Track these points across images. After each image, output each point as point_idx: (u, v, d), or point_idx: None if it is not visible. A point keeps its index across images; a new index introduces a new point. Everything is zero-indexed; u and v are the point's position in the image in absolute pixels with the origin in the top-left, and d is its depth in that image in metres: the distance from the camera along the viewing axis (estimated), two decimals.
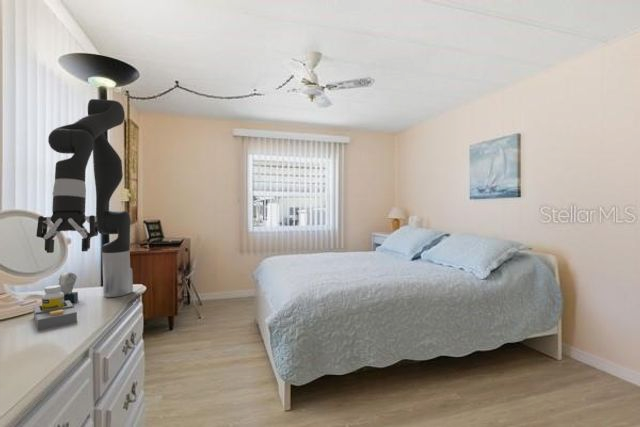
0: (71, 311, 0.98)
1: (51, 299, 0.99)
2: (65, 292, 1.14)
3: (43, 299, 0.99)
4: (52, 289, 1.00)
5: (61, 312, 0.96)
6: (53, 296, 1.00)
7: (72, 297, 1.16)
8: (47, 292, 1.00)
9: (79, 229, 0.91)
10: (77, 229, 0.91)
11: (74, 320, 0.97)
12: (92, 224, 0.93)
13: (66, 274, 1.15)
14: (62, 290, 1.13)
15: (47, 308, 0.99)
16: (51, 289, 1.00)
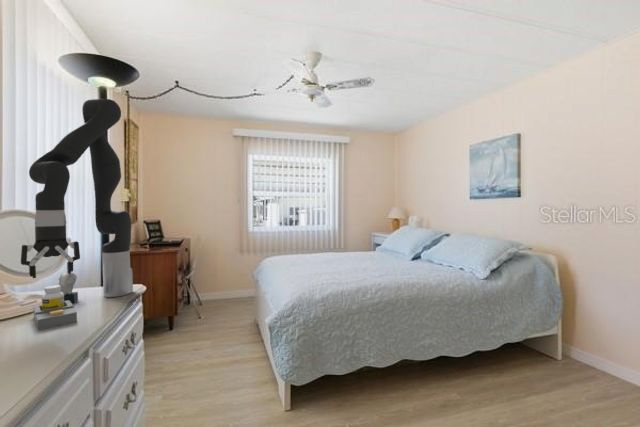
0: (71, 311, 0.98)
1: (51, 299, 0.99)
2: (65, 292, 1.14)
3: (43, 299, 0.99)
4: (52, 289, 1.00)
5: (61, 312, 0.96)
6: (53, 296, 1.00)
7: (72, 297, 1.16)
8: (47, 292, 1.00)
9: (66, 255, 1.02)
10: (64, 255, 1.02)
11: (74, 320, 0.97)
12: (77, 249, 1.05)
13: (66, 274, 1.15)
14: (62, 290, 1.13)
15: (47, 308, 0.99)
16: (51, 289, 1.00)
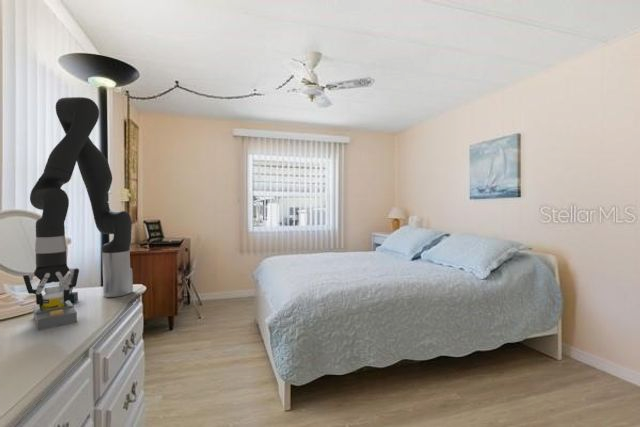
0: (71, 311, 0.98)
1: (51, 299, 0.99)
2: None
3: (43, 298, 0.99)
4: (52, 289, 1.00)
5: (61, 312, 0.96)
6: (53, 296, 1.00)
7: (72, 297, 1.16)
8: (47, 292, 1.00)
9: (64, 282, 1.02)
10: (62, 282, 1.02)
11: (74, 320, 0.97)
12: (76, 277, 1.05)
13: (66, 274, 1.15)
14: (62, 290, 1.13)
15: (47, 308, 0.99)
16: (51, 289, 1.00)
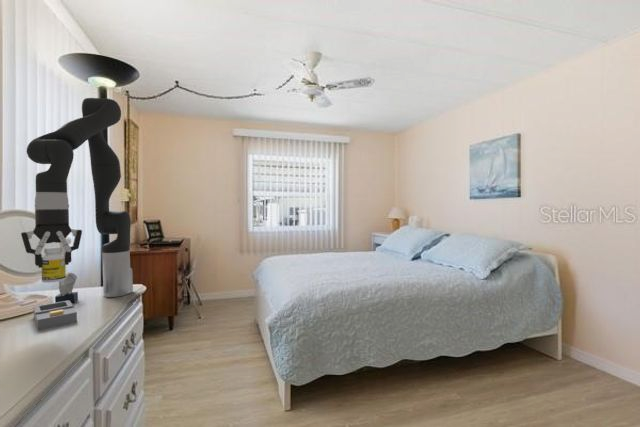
0: (71, 311, 0.98)
1: (52, 260, 0.91)
2: (65, 292, 1.14)
3: (43, 259, 0.91)
4: (52, 249, 0.92)
5: (61, 312, 0.96)
6: (53, 257, 0.91)
7: (72, 297, 1.16)
8: (47, 253, 0.92)
9: (65, 243, 0.94)
10: (63, 242, 0.94)
11: (74, 320, 0.97)
12: (78, 238, 0.97)
13: (66, 274, 1.15)
14: (62, 290, 1.13)
15: (47, 270, 0.91)
16: (51, 249, 0.92)
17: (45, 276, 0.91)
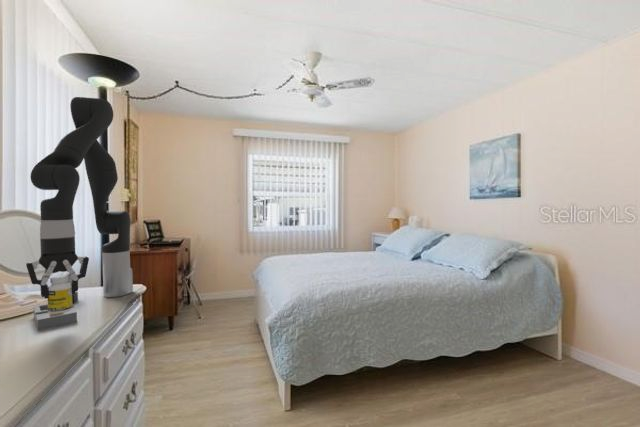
0: (71, 311, 0.98)
1: (58, 290, 0.88)
2: None
3: (49, 290, 0.87)
4: (59, 279, 0.88)
5: None
6: (60, 287, 0.88)
7: (72, 297, 1.16)
8: (53, 283, 0.88)
9: (72, 271, 0.91)
10: (70, 271, 0.90)
11: (74, 320, 0.97)
12: (85, 266, 0.93)
13: (66, 274, 1.15)
14: None
15: (53, 300, 0.87)
16: (58, 279, 0.88)
17: (51, 307, 0.87)
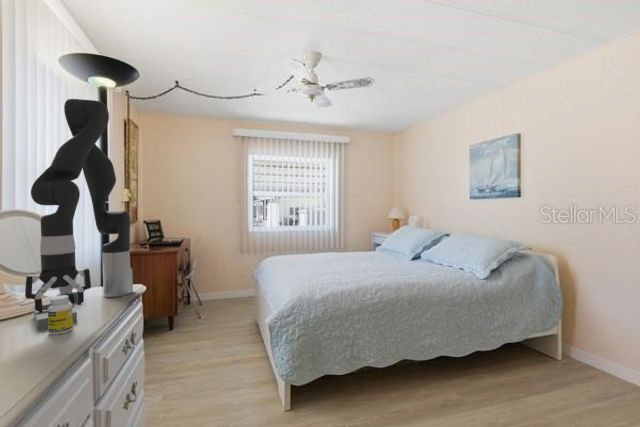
0: None
1: (59, 311, 0.88)
2: (65, 292, 1.14)
3: (50, 311, 0.88)
4: (59, 300, 0.89)
5: None
6: (60, 308, 0.88)
7: (72, 297, 1.16)
8: (53, 303, 0.88)
9: (75, 284, 0.91)
10: (73, 285, 0.91)
11: (74, 320, 0.97)
12: (88, 277, 0.94)
13: None
14: (62, 290, 1.13)
15: (54, 321, 0.88)
16: (58, 300, 0.88)
17: (52, 328, 0.88)
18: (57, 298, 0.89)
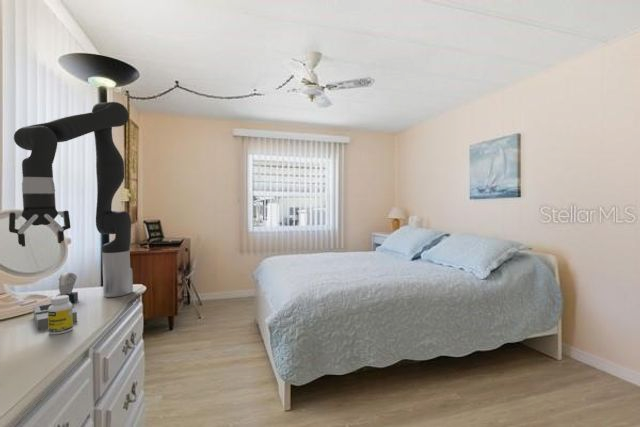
0: None
1: (59, 311, 0.88)
2: (65, 292, 1.14)
3: (50, 311, 0.88)
4: (59, 300, 0.89)
5: None
6: (60, 308, 0.88)
7: (72, 297, 1.16)
8: (54, 303, 0.88)
9: (56, 223, 1.00)
10: (54, 223, 1.00)
11: (74, 320, 0.97)
12: (67, 218, 1.03)
13: (66, 274, 1.15)
14: (62, 290, 1.13)
15: (54, 321, 0.88)
16: (58, 300, 0.88)
17: (52, 328, 0.88)
18: (57, 298, 0.89)
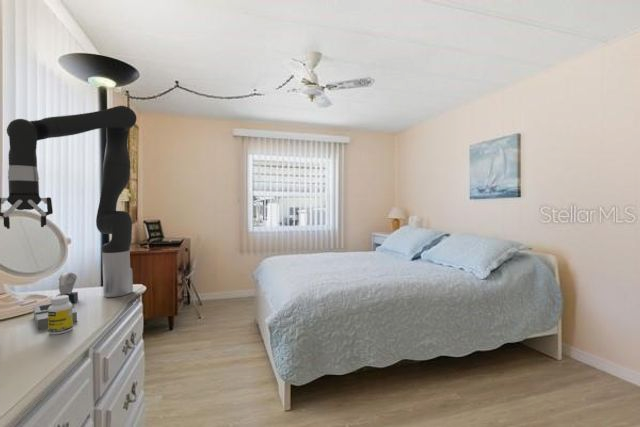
0: None
1: (59, 311, 0.88)
2: (65, 292, 1.14)
3: (50, 311, 0.88)
4: (59, 300, 0.89)
5: None
6: (60, 308, 0.88)
7: (72, 297, 1.16)
8: (53, 303, 0.88)
9: (39, 209, 1.09)
10: (37, 209, 1.09)
11: (74, 320, 0.97)
12: (50, 204, 1.12)
13: (66, 274, 1.15)
14: (62, 290, 1.13)
15: (54, 321, 0.88)
16: (58, 300, 0.88)
17: (52, 328, 0.88)
18: (57, 298, 0.89)
